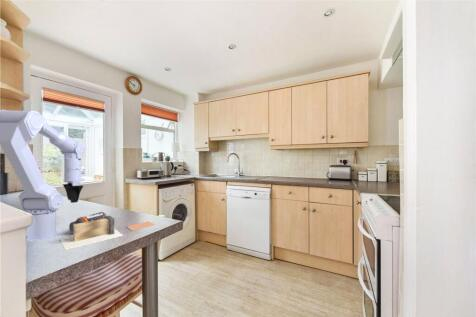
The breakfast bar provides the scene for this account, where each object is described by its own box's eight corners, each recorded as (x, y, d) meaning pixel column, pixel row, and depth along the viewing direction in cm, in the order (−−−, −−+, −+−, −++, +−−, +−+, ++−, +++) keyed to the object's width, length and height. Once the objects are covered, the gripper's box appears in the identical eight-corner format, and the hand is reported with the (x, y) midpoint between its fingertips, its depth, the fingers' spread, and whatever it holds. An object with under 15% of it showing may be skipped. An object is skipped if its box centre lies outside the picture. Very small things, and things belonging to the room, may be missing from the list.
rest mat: (65, 251, 62) (65, 249, 62) (60, 240, 70) (60, 238, 70) (123, 236, 73) (123, 235, 73) (113, 228, 81) (113, 227, 81)
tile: (131, 230, 78) (154, 224, 84) (126, 226, 82) (148, 221, 89) (131, 233, 78) (154, 227, 84) (126, 229, 82) (148, 224, 89)
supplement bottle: (108, 227, 83) (77, 237, 72) (98, 224, 85) (67, 234, 75) (108, 212, 83) (77, 221, 72) (98, 210, 85) (67, 218, 75)
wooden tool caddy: (75, 243, 66) (75, 226, 66) (72, 237, 71) (72, 222, 71) (114, 233, 75) (114, 218, 75) (109, 229, 79) (109, 215, 79)
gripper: (87, 169, 86) (87, 202, 86) (81, 168, 96) (81, 197, 96) (66, 170, 81) (66, 204, 81) (61, 168, 91) (61, 199, 91)
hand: (72, 201), depth 88 cm, fingers open, 7 cm apart
